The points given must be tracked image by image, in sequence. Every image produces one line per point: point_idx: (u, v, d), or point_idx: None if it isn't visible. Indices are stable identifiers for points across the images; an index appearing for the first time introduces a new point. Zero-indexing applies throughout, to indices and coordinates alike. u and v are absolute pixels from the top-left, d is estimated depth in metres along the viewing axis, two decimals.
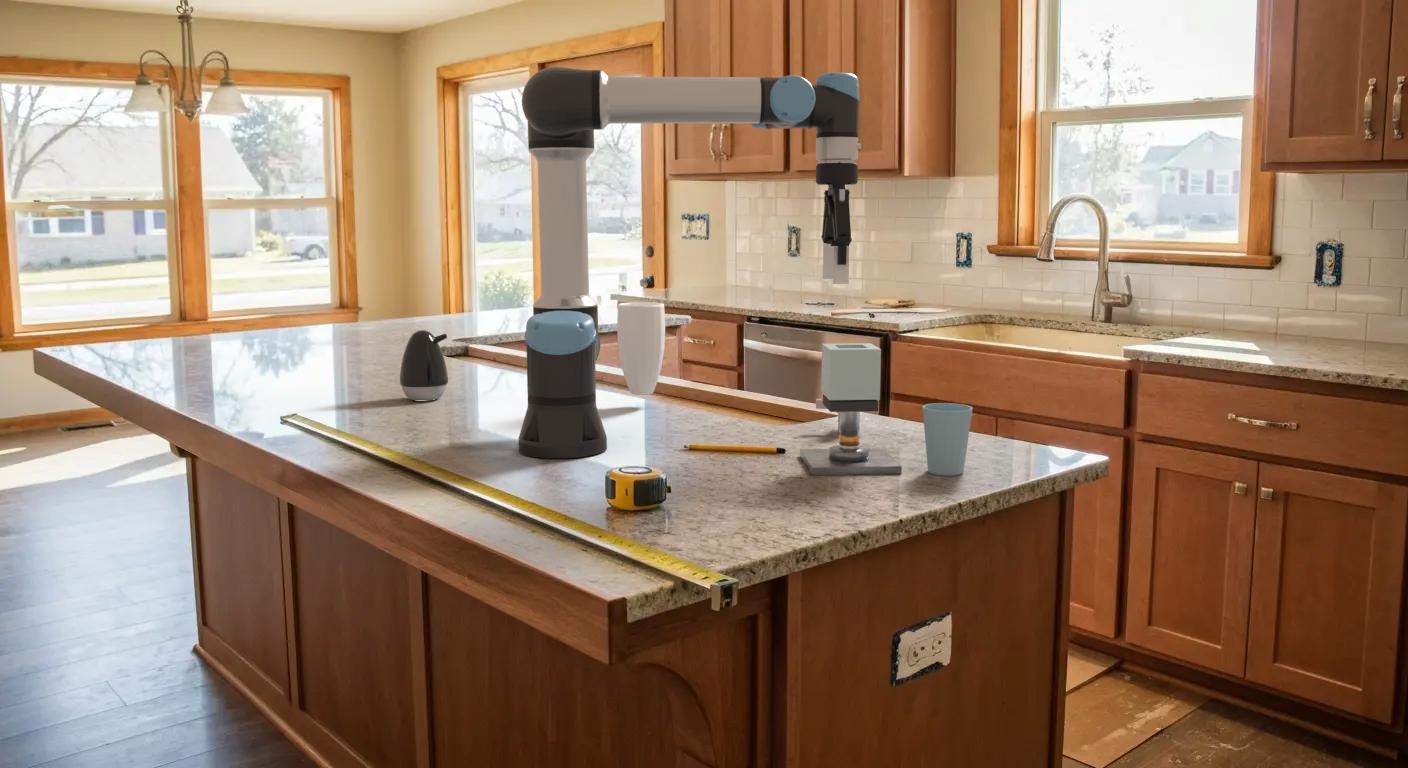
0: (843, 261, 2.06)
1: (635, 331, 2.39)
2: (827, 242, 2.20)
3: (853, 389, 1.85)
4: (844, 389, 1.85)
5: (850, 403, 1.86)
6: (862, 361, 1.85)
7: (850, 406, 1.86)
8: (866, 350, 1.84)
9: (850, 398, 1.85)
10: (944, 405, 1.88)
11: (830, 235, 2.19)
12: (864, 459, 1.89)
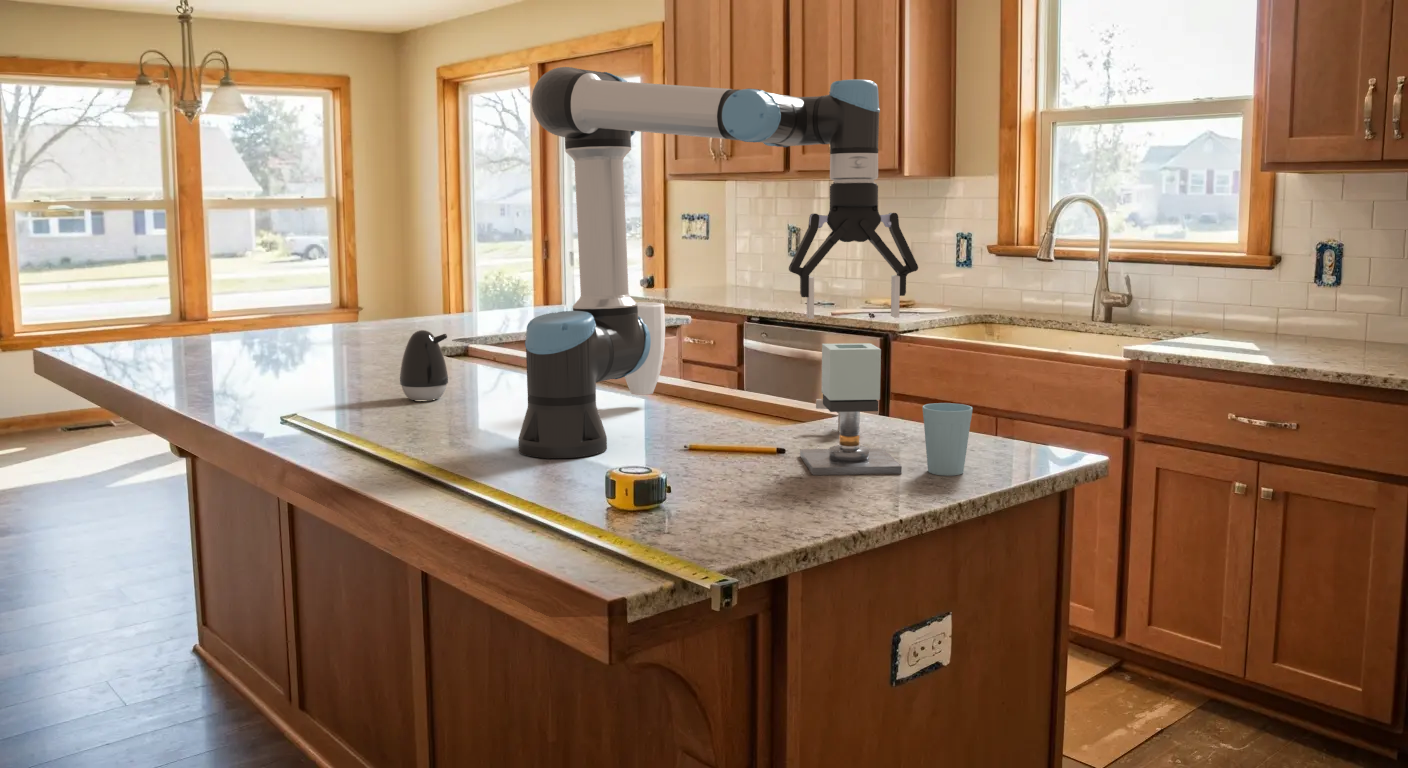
0: (801, 293, 1.86)
1: None
2: None
3: (853, 389, 1.85)
4: (844, 389, 1.85)
5: (850, 403, 1.86)
6: (862, 361, 1.85)
7: (850, 406, 1.86)
8: (866, 350, 1.84)
9: (850, 398, 1.85)
10: (944, 405, 1.88)
11: (891, 265, 1.87)
12: (864, 459, 1.89)
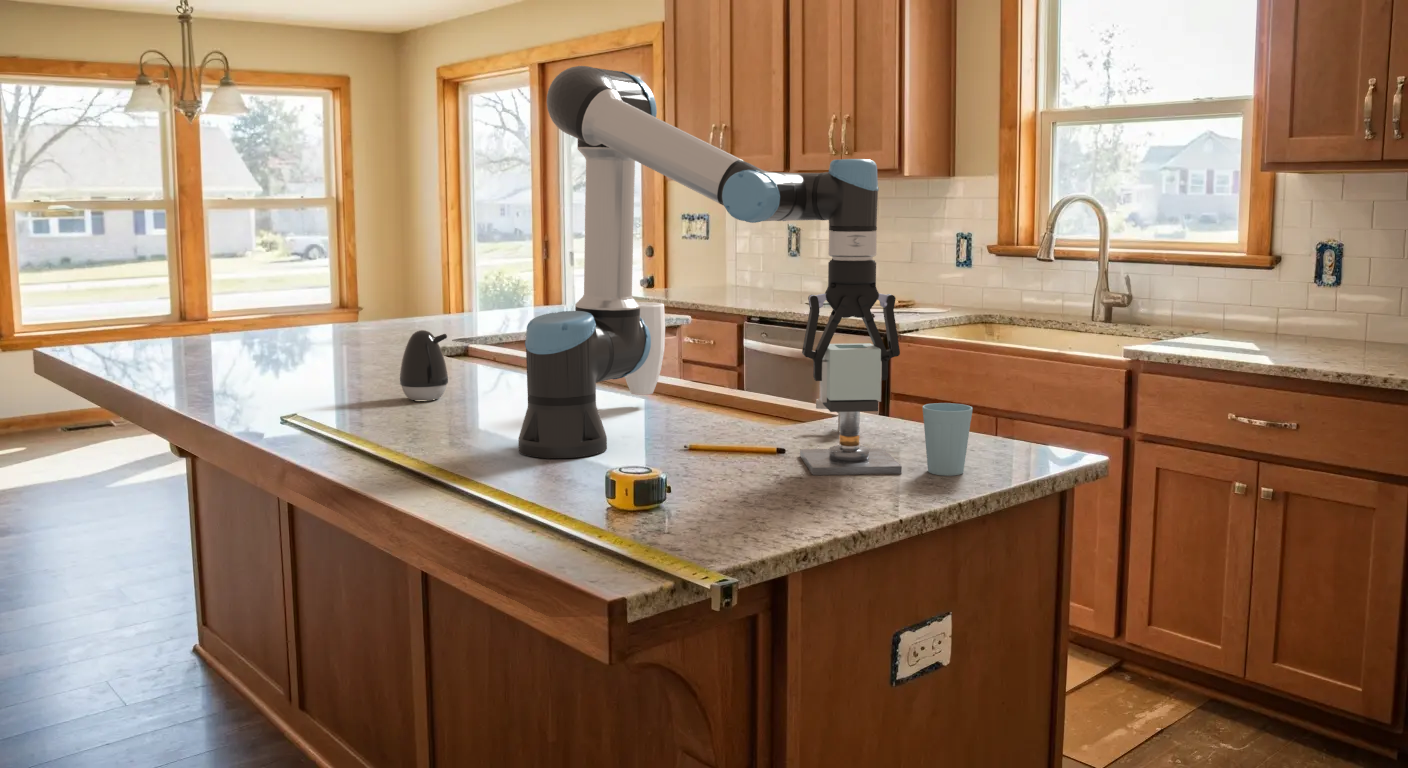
0: (814, 377, 1.88)
1: None
2: None
3: (853, 389, 1.85)
4: (844, 389, 1.85)
5: (850, 403, 1.86)
6: (862, 361, 1.85)
7: (850, 406, 1.86)
8: (866, 350, 1.84)
9: (850, 398, 1.85)
10: (944, 405, 1.88)
11: None
12: (864, 459, 1.89)
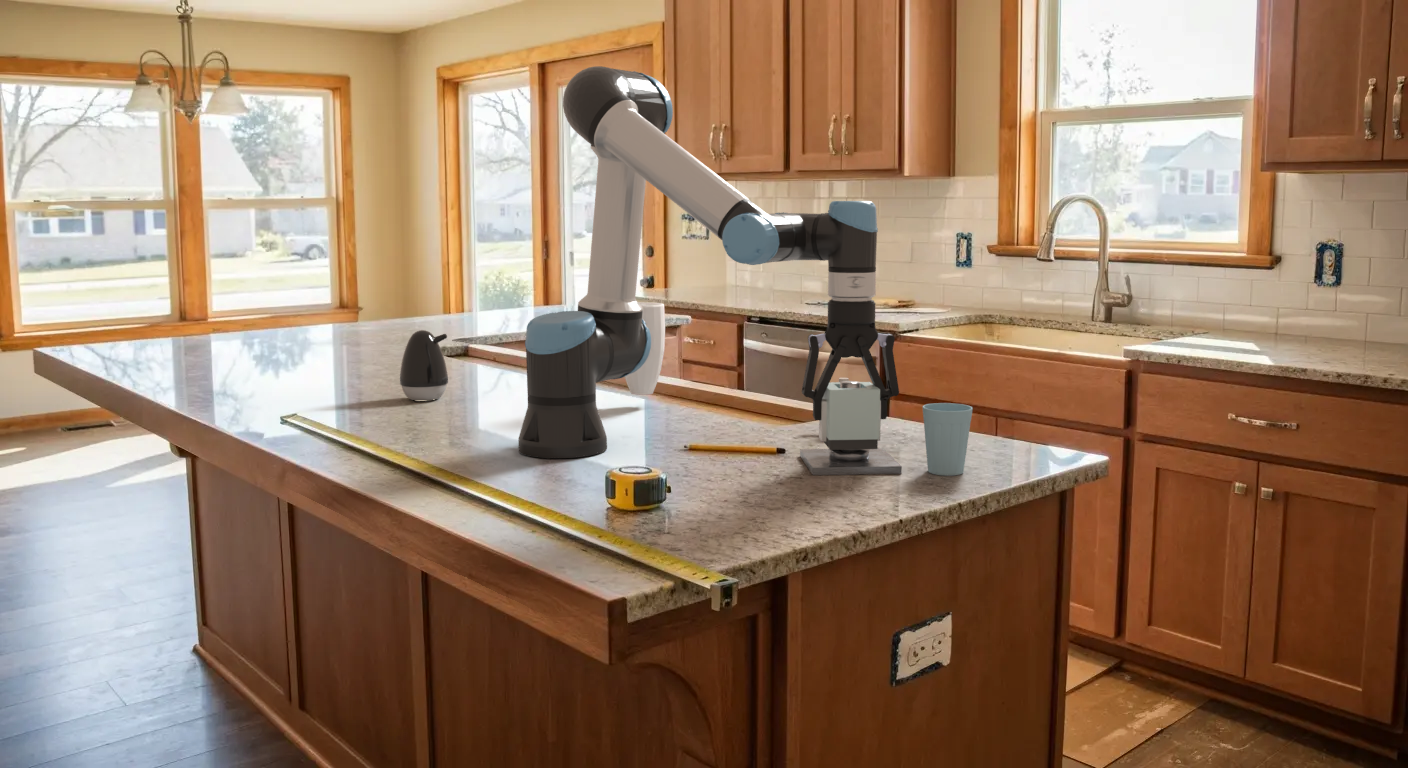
0: (814, 416, 1.89)
1: None
2: None
3: (852, 429, 1.86)
4: (843, 429, 1.86)
5: (849, 441, 1.87)
6: (861, 401, 1.86)
7: (849, 444, 1.87)
8: (865, 390, 1.85)
9: (849, 438, 1.86)
10: (944, 405, 1.88)
11: None
12: (864, 459, 1.89)
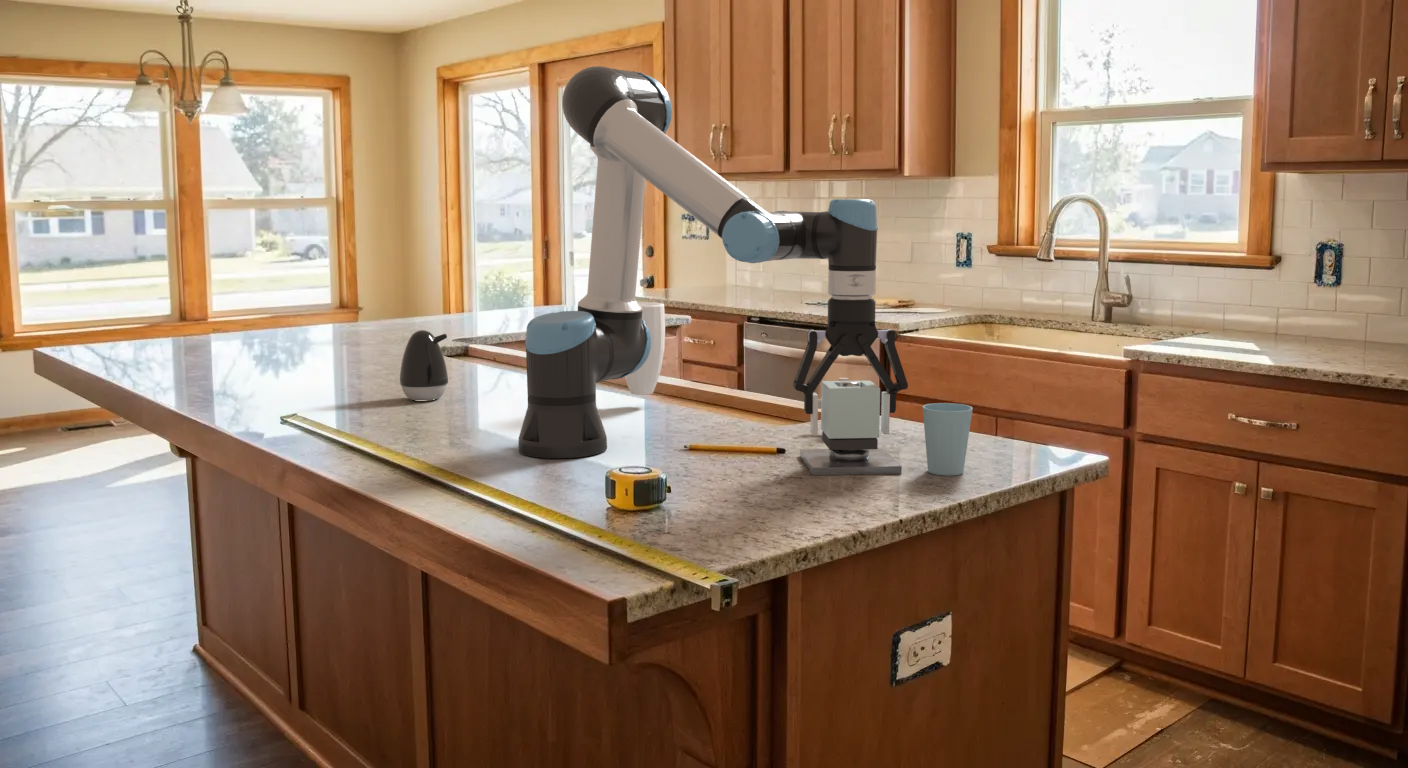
0: (805, 410, 1.89)
1: None
2: None
3: (852, 427, 1.86)
4: (843, 427, 1.86)
5: (849, 441, 1.87)
6: (861, 400, 1.86)
7: (849, 444, 1.87)
8: (865, 389, 1.85)
9: (849, 436, 1.86)
10: (944, 405, 1.88)
11: (882, 382, 1.90)
12: (864, 459, 1.89)
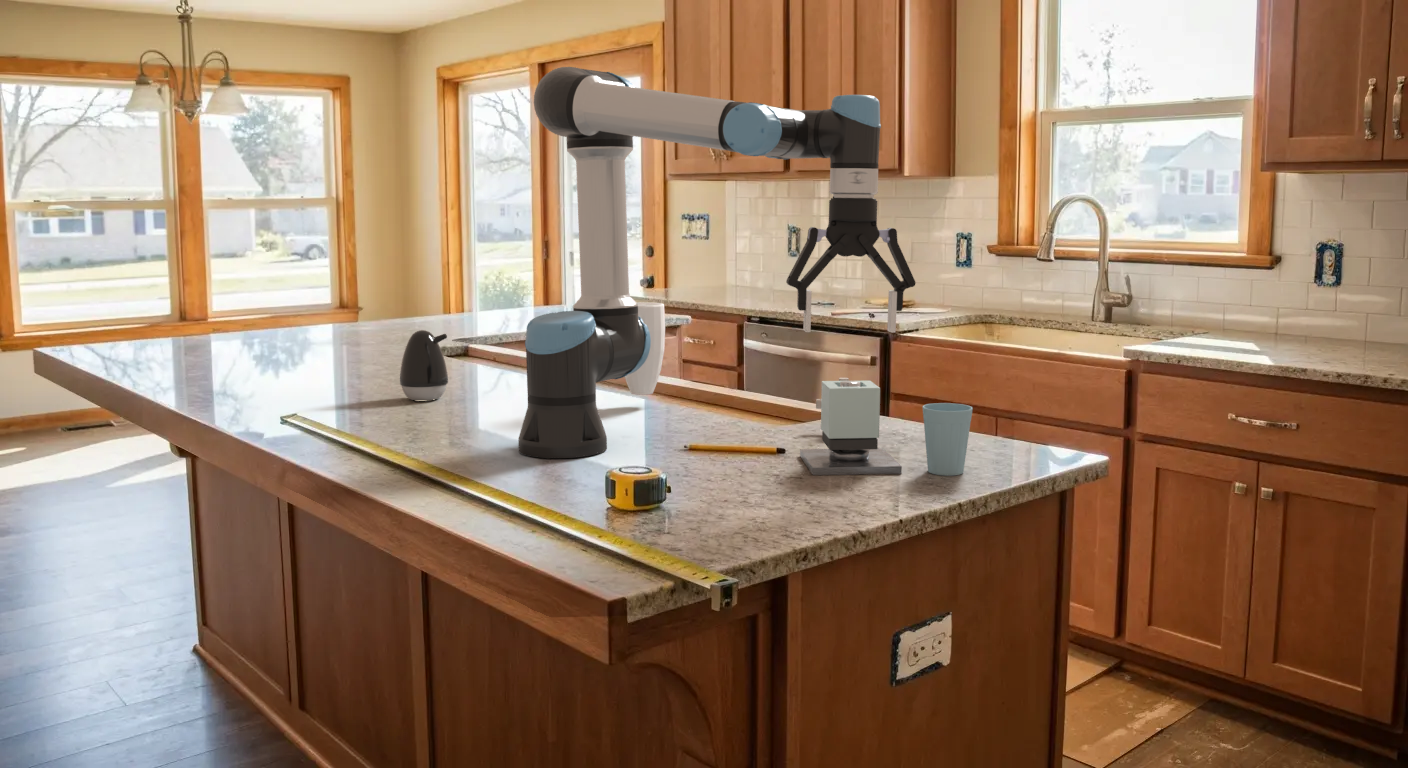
0: (798, 306, 1.87)
1: None
2: None
3: (852, 427, 1.86)
4: (843, 427, 1.86)
5: (849, 441, 1.87)
6: (861, 400, 1.86)
7: (849, 444, 1.87)
8: (865, 389, 1.85)
9: (849, 436, 1.86)
10: (944, 405, 1.88)
11: (889, 280, 1.87)
12: (864, 459, 1.89)
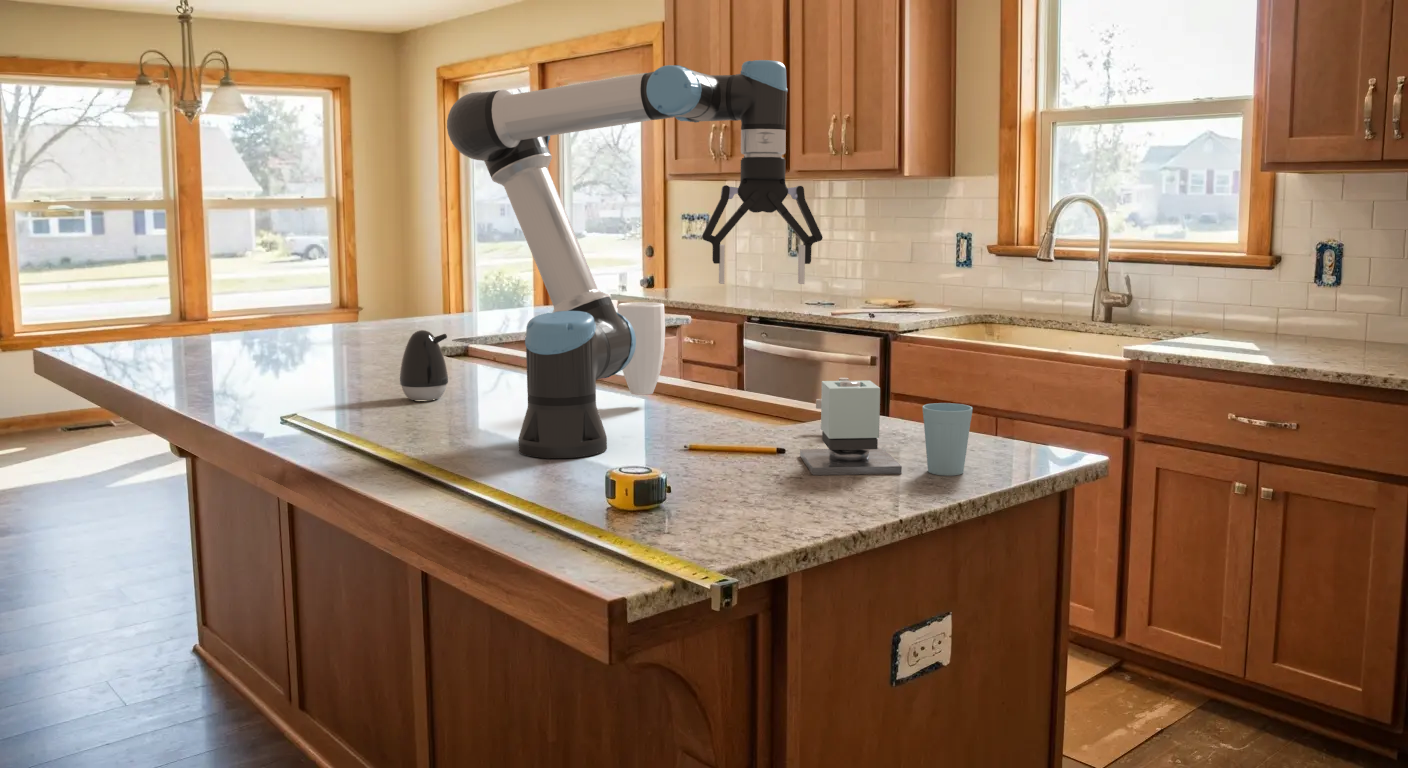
0: (713, 260, 1.99)
1: (635, 331, 2.39)
2: None
3: (852, 427, 1.86)
4: (843, 427, 1.86)
5: (849, 441, 1.87)
6: (861, 400, 1.86)
7: (849, 444, 1.87)
8: (865, 389, 1.85)
9: (849, 436, 1.86)
10: (944, 405, 1.88)
11: (798, 235, 2.00)
12: (864, 459, 1.89)
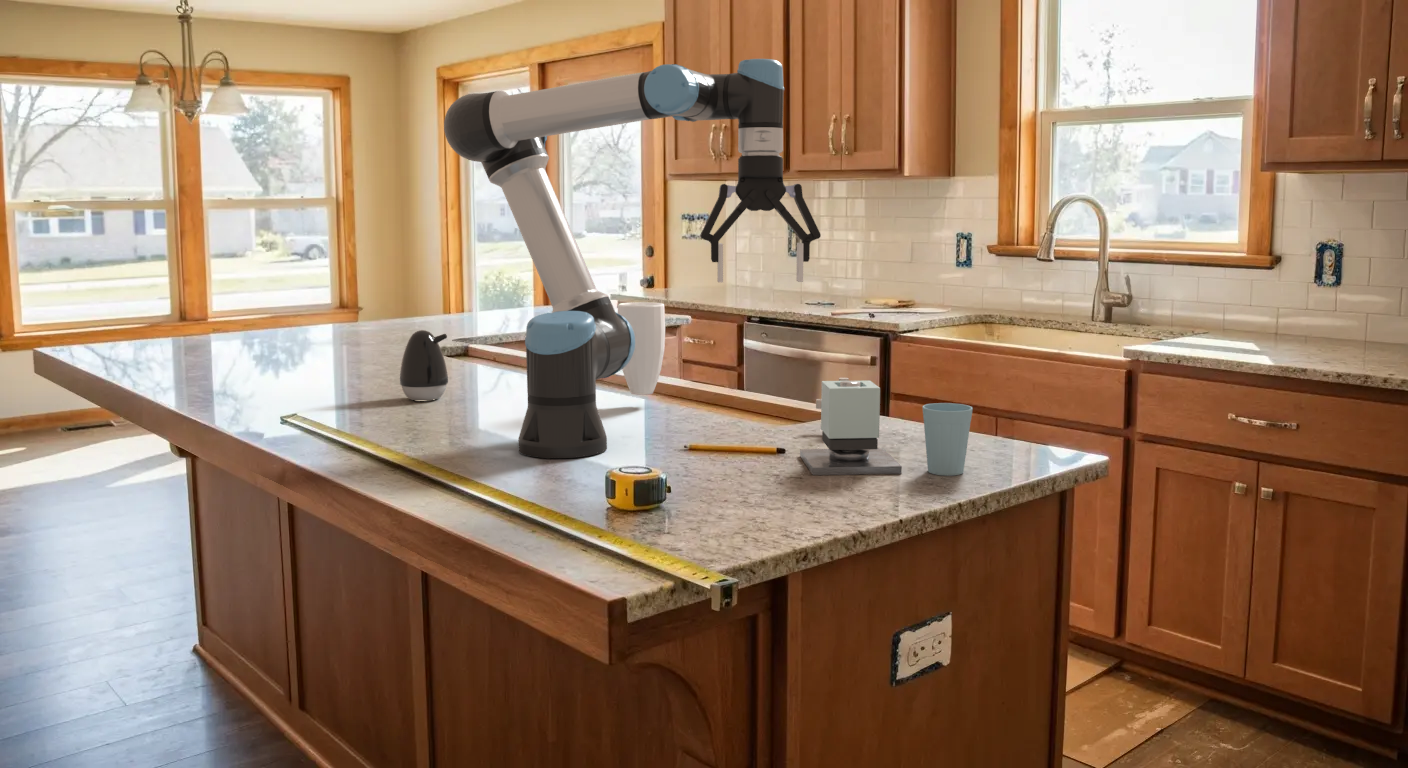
0: (711, 258, 2.00)
1: (635, 331, 2.39)
2: None
3: (852, 427, 1.86)
4: (843, 427, 1.86)
5: (849, 441, 1.87)
6: (861, 400, 1.86)
7: (849, 444, 1.87)
8: (865, 389, 1.85)
9: (849, 436, 1.86)
10: (944, 405, 1.88)
11: (796, 233, 2.00)
12: (864, 459, 1.89)
